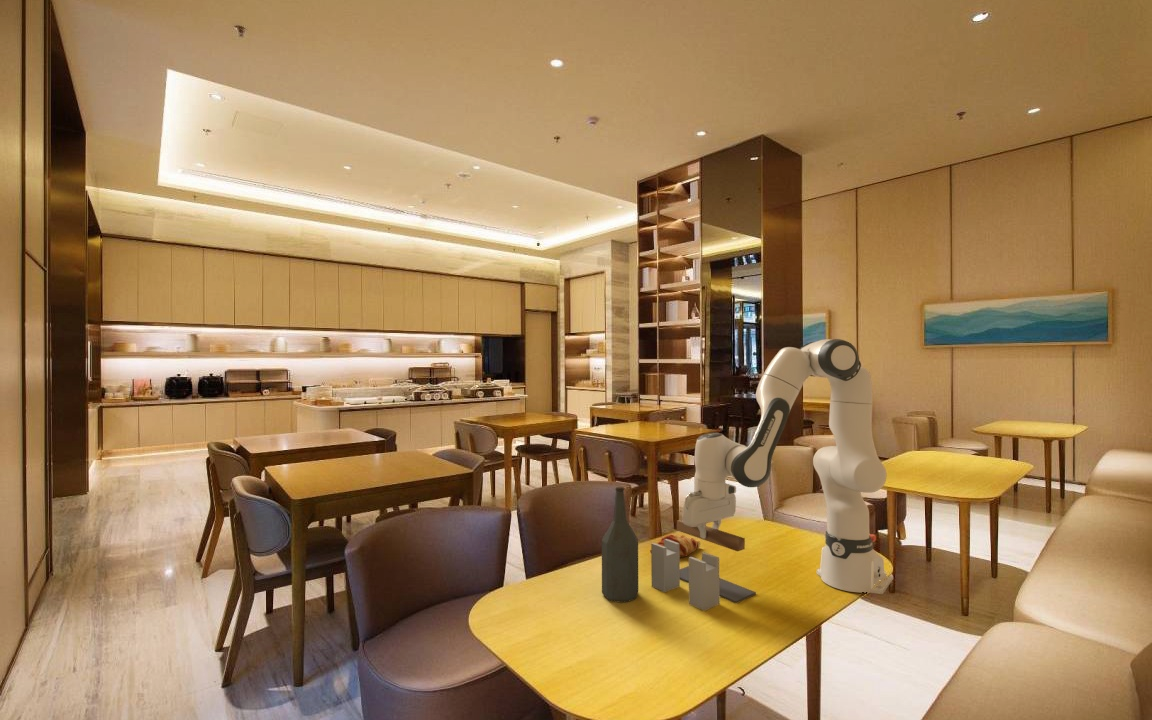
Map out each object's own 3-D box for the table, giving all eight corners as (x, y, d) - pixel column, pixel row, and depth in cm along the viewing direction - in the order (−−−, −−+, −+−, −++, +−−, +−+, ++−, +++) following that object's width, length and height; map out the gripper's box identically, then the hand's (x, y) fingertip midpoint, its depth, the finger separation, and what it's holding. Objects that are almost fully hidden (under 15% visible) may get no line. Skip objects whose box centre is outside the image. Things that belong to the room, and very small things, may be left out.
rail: (683, 528, 162) (683, 518, 162) (744, 549, 145) (744, 538, 145) (676, 530, 160) (676, 520, 160) (737, 551, 143) (737, 540, 143)
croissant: (693, 555, 185) (686, 532, 188) (712, 549, 177) (704, 525, 181) (646, 566, 174) (639, 541, 177) (664, 560, 166) (656, 535, 170)
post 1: (666, 580, 155) (666, 538, 155) (679, 586, 151) (679, 543, 151) (651, 586, 151) (651, 543, 151) (664, 592, 147) (664, 548, 147)
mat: (689, 567, 165) (689, 565, 165) (755, 594, 145) (755, 592, 145) (669, 574, 159) (669, 572, 159) (736, 603, 140) (736, 601, 140)
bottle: (644, 599, 143) (644, 489, 143) (612, 605, 139) (612, 492, 139) (626, 584, 152) (626, 481, 153) (596, 590, 149) (596, 484, 149)
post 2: (704, 597, 144) (704, 552, 144) (719, 604, 140) (719, 557, 140) (689, 603, 140) (688, 557, 140) (703, 610, 136) (703, 563, 136)
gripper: (694, 496, 144) (694, 546, 144) (739, 486, 156) (739, 532, 156) (677, 491, 149) (676, 540, 149) (722, 482, 161) (721, 527, 161)
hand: (709, 536), depth 152 cm, fingers closed on rail, 3 cm apart
